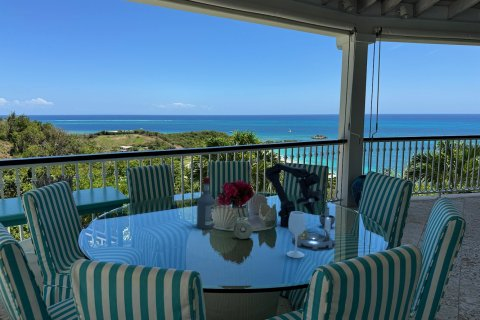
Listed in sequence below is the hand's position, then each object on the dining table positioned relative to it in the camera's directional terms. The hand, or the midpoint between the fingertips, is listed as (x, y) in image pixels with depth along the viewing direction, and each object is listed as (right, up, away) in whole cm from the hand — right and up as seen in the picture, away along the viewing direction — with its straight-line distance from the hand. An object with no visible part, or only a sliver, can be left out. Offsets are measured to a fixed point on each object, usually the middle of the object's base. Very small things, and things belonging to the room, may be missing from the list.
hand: (313, 214), depth 216 cm
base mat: (-3, -14, -14) cm, 19 cm away
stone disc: (-40, -12, -9) cm, 43 cm away
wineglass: (-15, -15, -32) cm, 38 cm away
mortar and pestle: (+12, -11, +19) cm, 25 cm away
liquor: (-63, -9, +10) cm, 64 cm away
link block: (-9, -10, -10) cm, 17 cm away
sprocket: (-3, -14, -14) cm, 19 cm away
